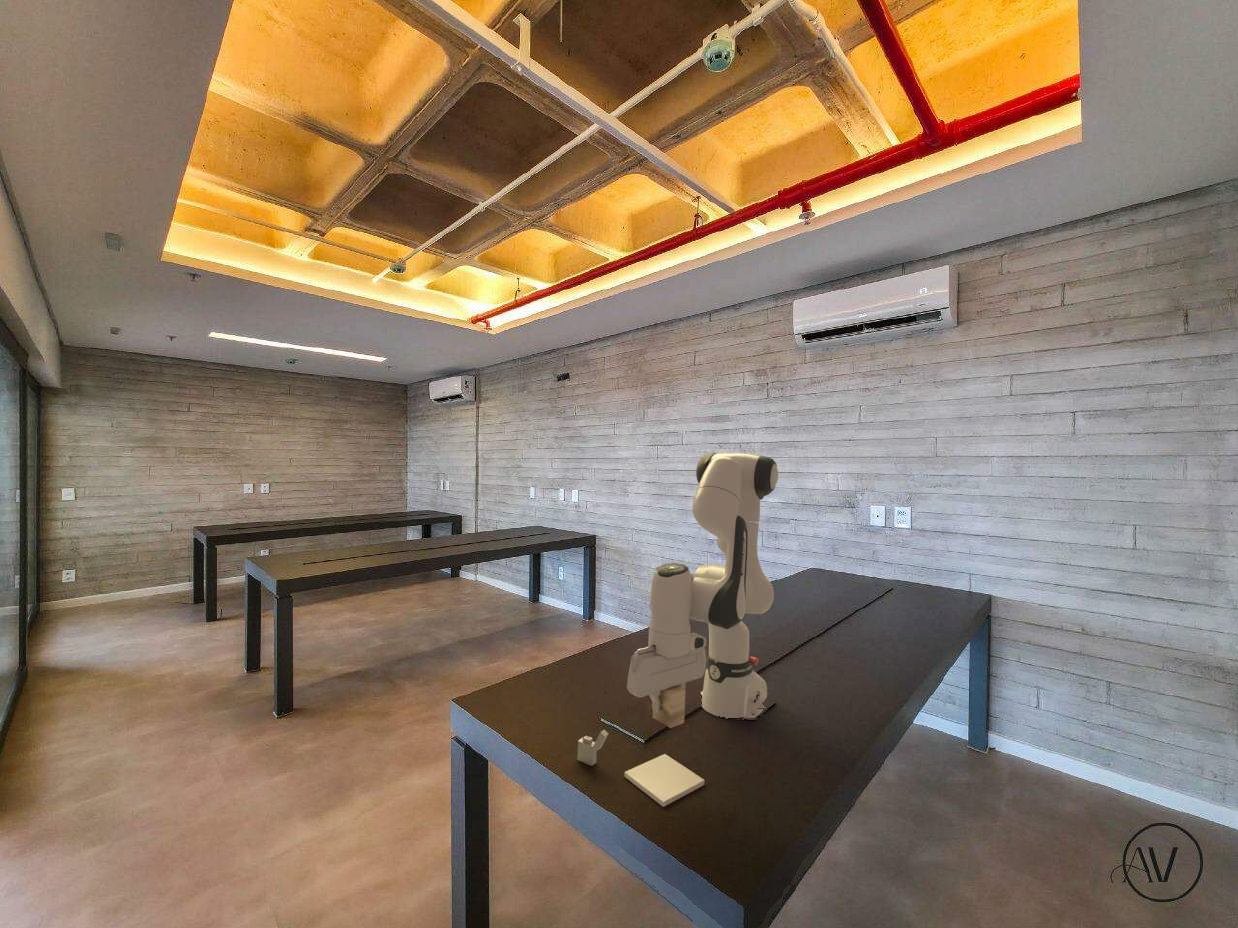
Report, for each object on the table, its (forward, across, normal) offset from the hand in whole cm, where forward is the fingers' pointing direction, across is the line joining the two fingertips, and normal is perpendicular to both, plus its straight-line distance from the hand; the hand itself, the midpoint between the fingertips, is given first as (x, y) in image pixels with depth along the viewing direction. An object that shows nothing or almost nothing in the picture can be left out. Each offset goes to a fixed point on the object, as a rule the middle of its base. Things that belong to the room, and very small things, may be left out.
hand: (666, 706), depth 108 cm
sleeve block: (+3, 0, 0) cm, 3 cm away
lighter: (+16, -8, +14) cm, 23 cm away
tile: (+16, 0, 0) cm, 16 cm away
